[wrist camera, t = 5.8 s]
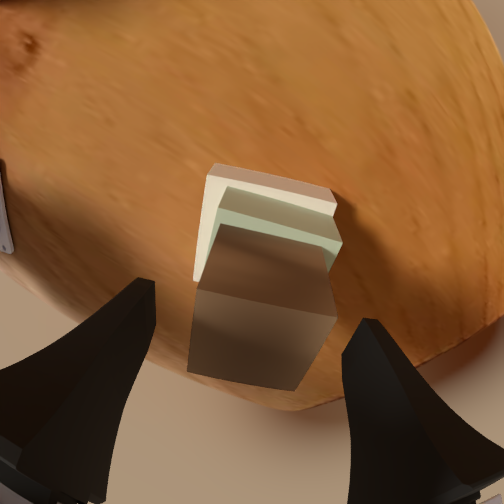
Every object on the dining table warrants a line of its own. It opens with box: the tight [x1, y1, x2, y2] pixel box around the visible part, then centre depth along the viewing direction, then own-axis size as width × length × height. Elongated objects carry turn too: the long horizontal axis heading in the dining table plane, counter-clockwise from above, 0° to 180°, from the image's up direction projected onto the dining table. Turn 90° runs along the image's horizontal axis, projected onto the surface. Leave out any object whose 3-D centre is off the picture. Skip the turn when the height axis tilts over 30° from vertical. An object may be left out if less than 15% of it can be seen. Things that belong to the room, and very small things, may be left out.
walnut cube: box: [187, 223, 338, 391], centre depth 11 cm, size 4×4×4 cm
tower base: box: [193, 163, 337, 282], centre depth 16 cm, size 6×6×2 cm
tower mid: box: [204, 186, 343, 273], centre depth 13 cm, size 5×5×2 cm
